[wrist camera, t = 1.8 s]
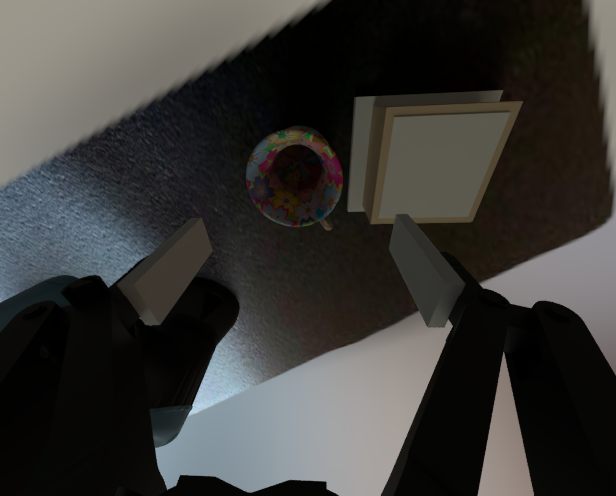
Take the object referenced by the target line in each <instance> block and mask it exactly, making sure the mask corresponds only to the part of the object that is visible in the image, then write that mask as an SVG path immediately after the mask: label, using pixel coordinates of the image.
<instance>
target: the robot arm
mask: <svg viewBox="0 0 616 496" xmlns="http://www.w3.org/2000/svg"><path fill="white" fill-rule="evenodd" d="M389 250H390V252H391V254H392V256H393V258H394V260H395V262H396V264H397V266H398V268H399V270H400V273H401V275H402V277H403V279H404V281H405V283H406V285H407V287H408V289H409V291H410V293H411V295H412V297H413V299H414V301H415V303H416V305H417V307H418V309H419V311H420V313H421V315H422V317H423V319H424V321H425V323H426V325H427V327H445V325H446V323H447V321H448V319H449V321H450V322H451V324H452V325H453V327H452V329H451V331H450V333H449V335H448V337H447V339H446V343H445V346H444V348H443V350H442V353H441V355H440V358H439V360H438V362H437V365H436V367H435V370H434V372H433V375H432V377H431V379H430V382H429V384H428V386H427V389H426V391H425V393H424V396H423V399H422V401H421V404H420V405H419V408H418V410H417V413H416V415H415V417H414V420H413V423H412V425H411V427H410V429H409V432H408V434H407V437H406V439H405V441H404V444H403V446H402V449H401V451H400V453H399V456H398V458H397V461H396V463H395V465H394V468H393V470H392V473H391V475H390V477H389V479H388V482H387V484H386V486H385V488H384V490H383V492H382V494H381V496H477V495H478V489H479V484H480V479H481V473H482V468H483V462H484V456H485V451H486V445H487V440H488V434H489V429H490V423H491V417H492V412H493V406H494V401H495V395H496V390H497V383H498V378H499V372H500V367H501V362H502V356H503V352H504V353H505V358H506V363H507V368H508V372H509V377H510V382H511V387H512V392H513V396H514V400H515V406H516V411H517V415H518V420H519V425H520V429H521V434H522V439H523V444H524V449H525V453H526V458H527V463H528V468H529V473H530V477H531V482H532V487H533V492H534V496H616V375H615V373H614V372H613V370H612V368H611V367H610V365H609V363H608V362H607V360H606V359H605V357H604V355H603V353H602V352H601V350H600V348H599V347H598V345H597V343H596V342H595V340H594V338H593V336H592V335H591V333H590V331H589V330H588V328H587V326H586V325H585V323H584V321H583V320H582V319H581V318H580V317H579V316H578V315H577V314H576V313H575V312H573V311H572V310H570V309H569V308H567V307H565V306H563V305H560V304H557V303H554V302H549V301H538V302H536V303H535V304H534V305H533V307H532V308H527V307H522V306H518V305H513V304H510V303H509V301H508V300H507V299H506V298H505V297H503V296H501V294H499V293H496V292H494V291H492V290H488V289H483V288H482V287H481V286H480V284H479V283H478V282H477V281H476V280H475V279H474V278H473V277H472V276H471V274H470V273H469V272H468V271H466V269H465V268H464V267H463V266H462V265H461V263H460V262H459V261H458V260H457V259H456V258H455V257H454V256H452V255H451V254H449V253H447V252H439V251H438V250H437V249H436V247H435V246H434V245H433V244H432V243H431V241H430V240H429V239H428V238H427V237H426V235H425V234H424V233H423V232H422V230H421V229H420V228H419V227H418V226H417V224H416V223H415V222H414V221H413V220H412V218H411V217H410V216H409V215H408V214H396V217H395V222H394V227H393V232H392V236H391V241H390V246H389ZM212 251H213V249H212V246H211V243H210V240H209V237H208V234H207V231H206V228H205V225H204V223H203V220H202V218H190V219H189V220H188V221H187V222H186V223H185V224H184V225H183V226H181V227H180V228H179V229H178V230H177V231H176V232H175V233H174V234H173V235H171V236H170V237H169V238H168V239H167V240H166V241H165V242H164V243H163V244H161V245H160V246H159V247H158V248H157V249H156V250H155V251H154V252H153V253H151V254H150V255H149V256H147V257H145V258H143V259H142V260H140V261H139V262H138V263H137V264H135V265H134V266H133V268H131V269H130V270H129V271H128V273H125V274H124V275H123V276H122V277H121V278H120V279H118V280H117V281H116V282H115V283H114V284H113V285H112V286H110V287H109V288H108V287H107V285H106V284H105V283H104V281H103V280H102V279H101V277H100V276H97V275H92V276H87V277H83V278H80V279H79V278H77V277H74V276H69V275H62V276H56V277H52V278H50V279H47V280H45V281H43V282H41V283H39V284H37V285H35V286H33V287H31V288H29V289H27V290H25V291H23V292H21V293H19V294H17V295H15V296H13V297H11V298H9V299H7V300H5V301H3V302H1V303H0V496H24V495H25V492H26V490H27V488H28V486H29V483H30V481H31V479H32V476H33V474H34V472H35V469H36V467H37V465H38V463H39V460H40V458H41V456H42V453H43V451H44V449H45V446H46V444H47V442H48V439H49V442H48V448H47V453H46V459H45V464H44V470H43V475H42V480H41V483H40V486H39V488H38V489H37V490H36V491H35V492H34V493H32V494H31V495H29V496H338V495H337V494H336V493H333V492H331V491H329V490H327V489H326V482H324V481H323V482H322V481H301V480H288V481H285V482H282V483H279V484H276V485H273V486H270V487H267V488H264V489H261V490H259V491H255V492H252V493H248V492H245V491H243V490H241V489H239V488H237V487H235V486H233V485H231V484H229V483H227V482H225V481H223V480H221V479H219V478H217V477H211V476H189V475H180V477H179V480H178V483H177V485H176V486H175V487H173V488H171V489H168V490H167V488H166V485H165V482H164V479H163V477H162V476H161V474H160V472H159V469H158V466H157V459H156V453H155V448H156V447H160V446H164V445H166V444H168V443H170V442H171V441H173V440H174V439H175V438H176V437H177V435H178V434H179V432H180V430H181V428H182V426H183V424H184V422H185V420H186V418H187V416H188V414H189V412H190V411H191V409H192V407H193V406H192V404H193V402H194V400H195V397H196V395H197V392H198V390H199V387H200V385H201V382H202V380H203V378H204V375H205V373H206V370H207V368H208V365H209V363H210V360H211V358H212V355H213V353H214V351H215V348H216V346H217V345H218V343H219V342H220V341H221V340H222V339H223V337H224V336H225V335H226V334H227V333H228V331H229V330H230V329H231V328H232V327H233V325H234V324H235V322H236V319H237V317H238V314H239V304H238V301H237V299H236V298H235V296H234V295H233V294H232V293H231V292H230V291H229V290H228V289H226V288H225V287H223V286H222V285H220V284H218V283H216V282H214V281H211V280H208V279H204V278H198V277H195V275H196V274H197V273H198V271H199V270H200V268H201V267H202V265H203V264H204V263H205V261H206V260H207V258H208V257H209V256H210V254H211V253H212ZM140 318H141V319H140ZM150 325H151V326H150Z"/></svg>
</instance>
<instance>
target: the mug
mask: <svg viewBox="0 0 616 496" xmlns="http://www.w3.org/2000/svg"><path fill="white" fill-rule="evenodd" d="M246 183H247V188H248V191H249V194H250V196H251V198H252V200H253V202H254V204H255V205H256V206H257V208H258V209H259V210H260V211H261V212H262V213H263V214H264V215H265V216H267V217H268V218H269V219H271V220H273V221H275V222H277V223H279V224H282V225H286V226H293V227H300V226H307V225H311V224H313V223H316V222H318V221H320V223H321V224H322V226H323V227H324V228H325V229H326V230H331V229H332V228H333V225H332V221H331V219H330V216H329V213H330V212H331V211H332V210H333V208H334V207H335V205H336V204H337V202H338V200H339V197H340V195H341V191H342V185H343V175H342V169H341V165H340V162H339V160H338V158H337V156H336V154H335V152H334V151H333V149H332V148H331V147H330V146H329V144H328V142H327V141H326V139H325V138H324V137H323V136H322V135H321V134H320V133H319V132H318V131H316V130H315V129H313V128H310V127H307V126H292V127H289V128H287V129H285V130H281V131H277V132H275V133H272V134H270V135H269V136H267V137H266V138H264V139H263V140H262V141H261V142H260V143H259V144H258V145H257V146H256V147H255V149H254V150H253V152H252V153H251V155H250V158H249V161H248V164H247V169H246Z"/></svg>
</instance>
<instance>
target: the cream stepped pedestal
mask: <svg viewBox="0 0 616 496" xmlns="http://www.w3.org/2000/svg"><path fill="white" fill-rule="evenodd" d="M502 92H503V90H497V91H475V92H454V93H432V94H411V95H389V96H368V97H354V109H353V124H352V139H351V154H350V170H349V185H348V200H347V210H348V212H357V211H365V212H366V215H367V217H368V219H369V221H370V223H371V224H394V222H395V217H396V214H408V215H409V216H410V217H411V218H412V220H413V221H414V222H415V223H449V222H472V221H473V218H474V216H475V214H476V211H477V209H478V207H479V204H480V202H481V200H482V197H483V195H484V193H485V190H486V188H487V185H488V183H489V181H490V178H491V176H492V174H493V171H494V169H495V167H496V164H497V162H498V159H499V157H500V155H501V152H502V150H503V148H504V145H505V143H506V141H507V138H508V136H509V133H510V131H511V129H512V126H513V124H514V122H515V119H516V117H517V115H518V112H519V110H520V107H521V105H522V103H523V101H512V102H499V100H500V98H501V95H502Z"/></svg>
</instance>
